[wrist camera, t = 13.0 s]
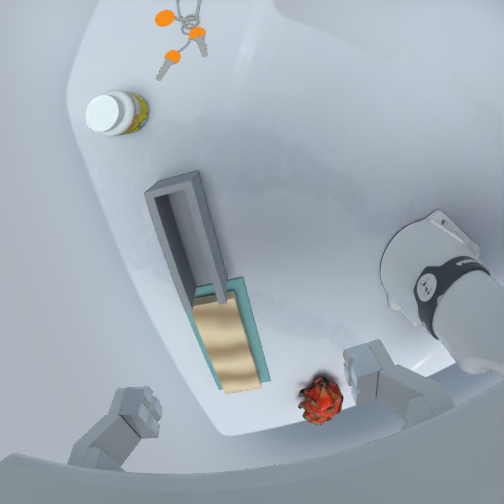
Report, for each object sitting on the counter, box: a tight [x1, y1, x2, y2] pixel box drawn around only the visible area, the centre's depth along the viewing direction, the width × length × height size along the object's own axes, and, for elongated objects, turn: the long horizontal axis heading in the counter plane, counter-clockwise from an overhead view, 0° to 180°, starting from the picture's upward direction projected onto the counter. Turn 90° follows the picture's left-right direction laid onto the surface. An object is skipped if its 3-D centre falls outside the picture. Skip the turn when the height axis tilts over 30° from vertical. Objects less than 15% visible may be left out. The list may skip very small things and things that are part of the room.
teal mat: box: [186, 277, 270, 390], centre depth 50 cm, size 23×10×1 cm, turn 12°
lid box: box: [144, 170, 227, 312], centre depth 38 cm, size 16×6×7 cm, turn 12°
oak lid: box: [191, 291, 261, 394], centre depth 48 cm, size 20×7×3 cm, turn 12°
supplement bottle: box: [85, 90, 149, 136], centre depth 30 cm, size 5×5×10 cm
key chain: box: [155, 0, 208, 81], centre depth 31 cm, size 13×7×1 cm, turn 2°
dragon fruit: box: [298, 377, 343, 425], centre depth 53 cm, size 8×8×12 cm
